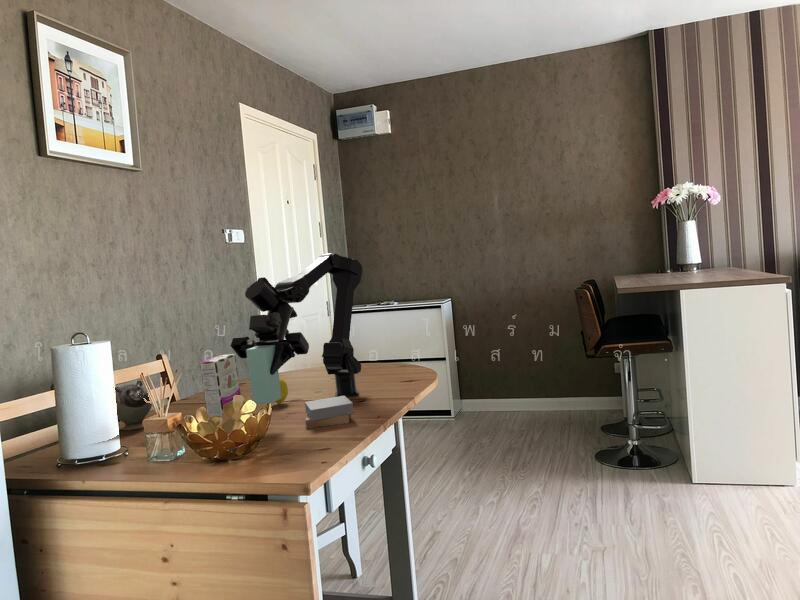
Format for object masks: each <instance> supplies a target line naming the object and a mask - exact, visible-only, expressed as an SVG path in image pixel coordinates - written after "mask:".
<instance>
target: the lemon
mask: <svg viewBox="0 0 800 600" xmlns="http://www.w3.org/2000/svg"><path fill="white" fill-rule="evenodd" d="M279 381H280V390H281V399H279V400H277V401H275V402H274V403H276V404H278V405H281V404H282V403H283V402H284V401H285V400H286V399H287V398H288V395H289V388H288V384H287V382H286V381H285V380H284V378H282V377H279Z"/></svg>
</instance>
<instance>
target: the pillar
mask: <svg viewBox="0 0 800 600" xmlns="http://www.w3.org/2000/svg"><path fill="white" fill-rule="evenodd" d="M246 352H247V358H246V359H247V368H248V376H249V384H250V385H249V386H250V392H251V400H252V401H254V402H255V403H256V404H255V405H258V404H259V405H261V404H265V405H266V404H273V403H276V402H275V401H277V400H279V399H281V390H280V381H279V378H280V376H279V375H280V373H279V369H278V370H277V371H276V372H275V373H274V374H273V375H271V374H270V369H271V365H272V361H273V358H274V355H275V345H266V346H255V347H252V348H250V349H247V350H246Z"/></svg>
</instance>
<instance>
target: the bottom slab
mask: <svg viewBox="0 0 800 600" xmlns="http://www.w3.org/2000/svg"><path fill="white" fill-rule="evenodd" d="M306 414H307V413H306ZM344 423H345V424H350V414H348V415H342V416H336V417H330V418H325V419H319V420H313V421H312V420H311V418H310V417H309V416H308V414H307V415H306V418H305V428H306V429H313V428H318V427H319V426H321V427H326V426H327V425H329V426H335V424H337V425H342V424H343V425H345V424H344ZM312 427H313V428H312Z"/></svg>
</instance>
